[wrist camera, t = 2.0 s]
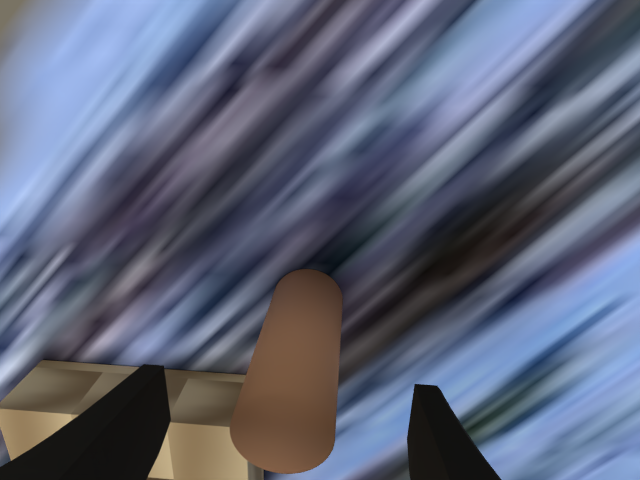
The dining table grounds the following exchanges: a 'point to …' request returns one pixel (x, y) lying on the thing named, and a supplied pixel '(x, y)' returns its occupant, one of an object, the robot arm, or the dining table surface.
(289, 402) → the pin
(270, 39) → the dining table surface
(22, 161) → the dining table surface
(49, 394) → the bore block
